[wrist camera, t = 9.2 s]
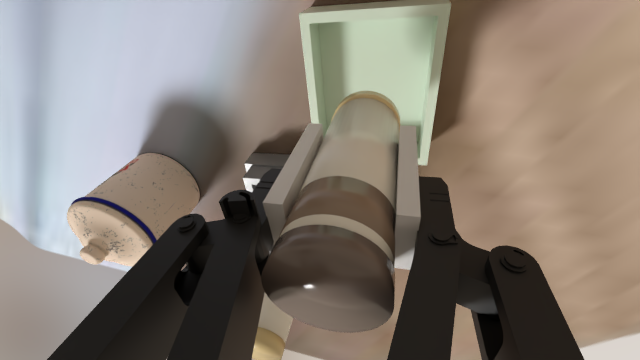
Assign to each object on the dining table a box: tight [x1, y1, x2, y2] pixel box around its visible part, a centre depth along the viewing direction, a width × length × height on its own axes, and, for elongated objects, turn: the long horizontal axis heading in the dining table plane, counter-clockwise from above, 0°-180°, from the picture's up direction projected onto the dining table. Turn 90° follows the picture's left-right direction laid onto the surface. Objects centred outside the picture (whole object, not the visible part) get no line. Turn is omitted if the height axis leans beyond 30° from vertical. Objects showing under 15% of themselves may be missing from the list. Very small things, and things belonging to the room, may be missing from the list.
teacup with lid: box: [67, 153, 200, 266], centre depth 32 cm, size 12×9×12 cm
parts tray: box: [299, 0, 451, 165], centre depth 22 cm, size 11×9×3 cm
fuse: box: [252, 293, 293, 360], centre depth 29 cm, size 4×4×12 cm
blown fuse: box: [261, 91, 400, 333], centre depth 14 cm, size 4×4×12 cm
